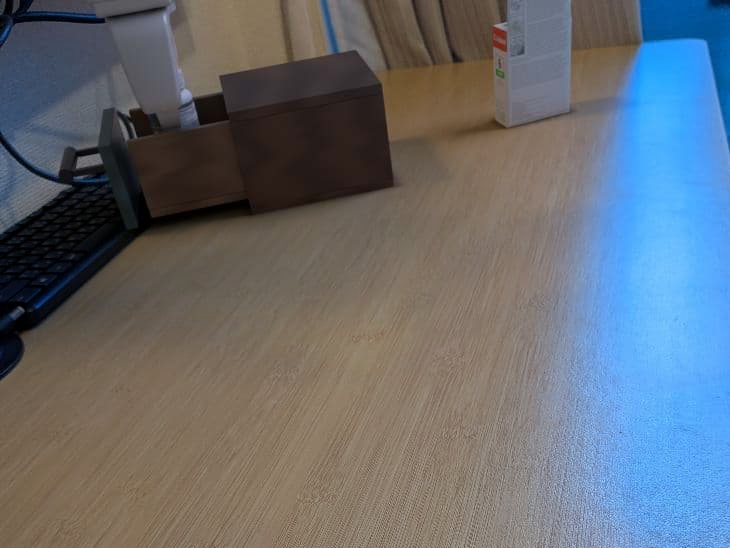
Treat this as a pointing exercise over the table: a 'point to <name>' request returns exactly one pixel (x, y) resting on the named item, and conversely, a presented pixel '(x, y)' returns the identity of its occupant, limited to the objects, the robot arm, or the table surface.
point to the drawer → (165, 162)
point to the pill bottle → (185, 111)
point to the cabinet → (308, 130)
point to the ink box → (532, 61)
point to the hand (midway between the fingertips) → (177, 135)
